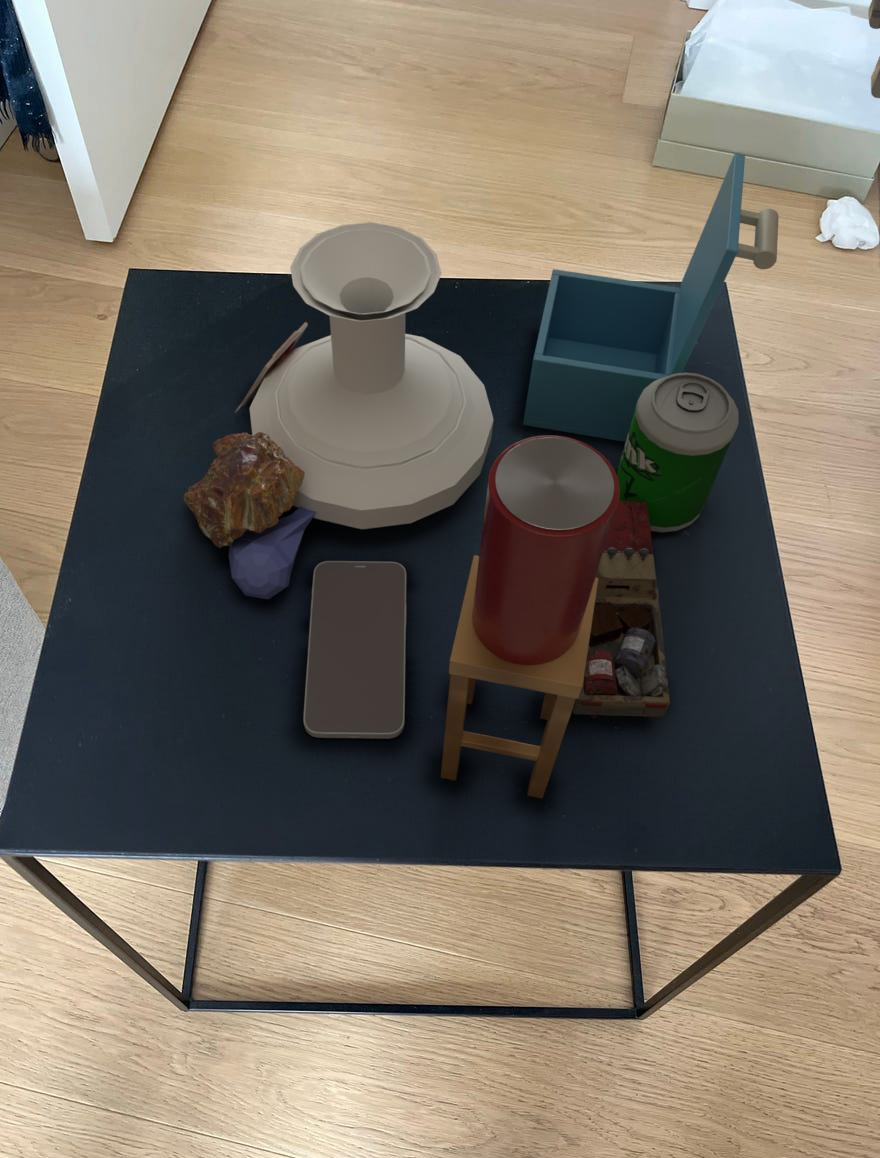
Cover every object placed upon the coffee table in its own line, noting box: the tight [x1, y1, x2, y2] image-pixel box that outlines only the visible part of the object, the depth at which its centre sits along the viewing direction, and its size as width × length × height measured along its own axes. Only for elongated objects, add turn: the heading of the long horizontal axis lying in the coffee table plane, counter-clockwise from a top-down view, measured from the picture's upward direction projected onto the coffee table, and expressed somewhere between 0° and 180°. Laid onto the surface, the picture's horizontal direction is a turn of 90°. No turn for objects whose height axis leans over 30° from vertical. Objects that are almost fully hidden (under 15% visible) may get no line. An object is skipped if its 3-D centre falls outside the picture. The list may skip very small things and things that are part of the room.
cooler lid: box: [670, 152, 779, 375], centre depth 76 cm, size 12×11×4 cm
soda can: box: [616, 372, 740, 533], centre depth 78 cm, size 8×8×12 cm
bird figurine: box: [228, 507, 316, 600], centre depth 77 cm, size 8×6×6 cm
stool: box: [440, 555, 598, 799], centre depth 64 cm, size 8×8×17 cm
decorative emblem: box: [234, 321, 309, 414], centre depth 86 cm, size 10×1×10 cm
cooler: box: [522, 268, 681, 443], centre depth 86 cm, size 11×11×8 cm
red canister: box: [472, 435, 620, 665], centre depth 52 cm, size 6×6×12 cm
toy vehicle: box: [572, 501, 671, 719], centre depth 73 cm, size 7×18×8 cm, turn 178°
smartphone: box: [303, 560, 407, 740], centre depth 75 cm, size 7×1×15 cm
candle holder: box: [249, 222, 495, 530], centre depth 77 cm, size 20×20×19 cm
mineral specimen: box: [183, 431, 305, 549], centre depth 77 cm, size 12×8×7 cm, turn 39°
